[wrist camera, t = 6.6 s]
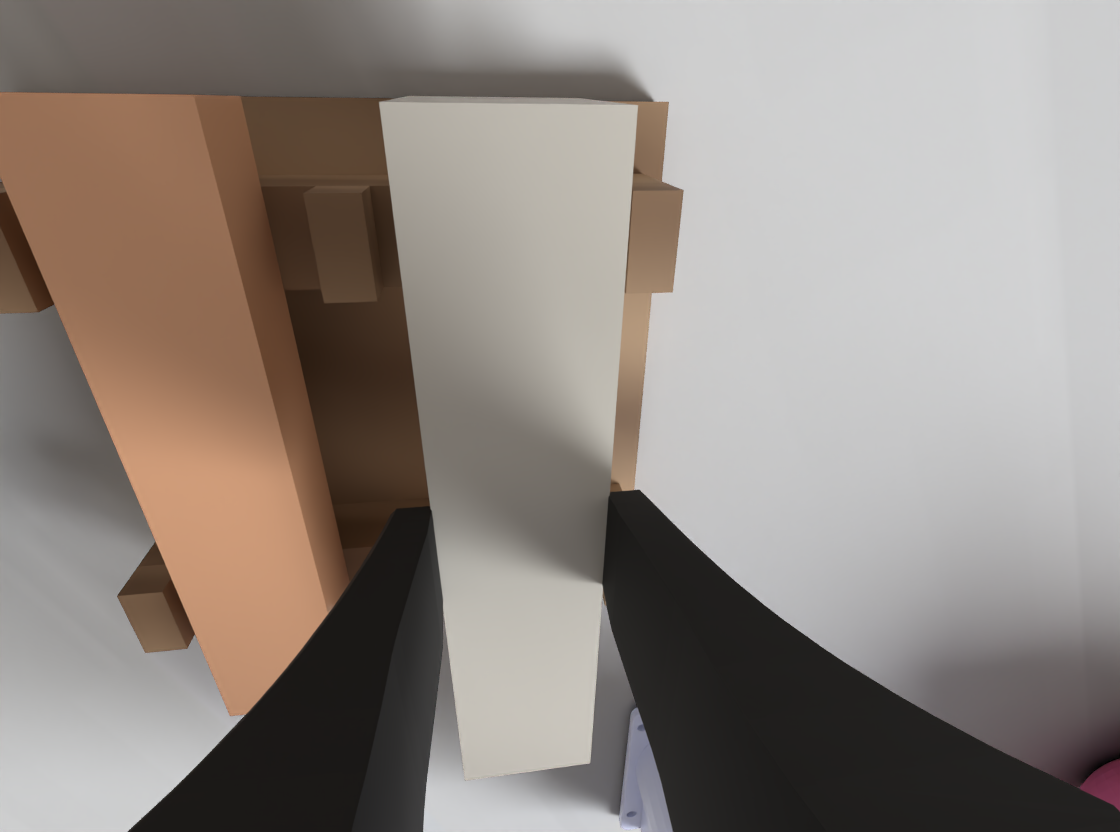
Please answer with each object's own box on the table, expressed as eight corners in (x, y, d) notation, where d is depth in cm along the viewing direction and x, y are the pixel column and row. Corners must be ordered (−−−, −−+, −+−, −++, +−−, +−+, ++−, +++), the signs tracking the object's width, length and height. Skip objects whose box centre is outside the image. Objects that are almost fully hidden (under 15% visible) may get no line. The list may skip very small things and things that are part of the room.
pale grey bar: (565, 628, 17) (590, 763, 14) (465, 639, 17) (464, 780, 13) (580, 97, 10) (637, 105, 7) (409, 95, 10) (378, 102, 6)
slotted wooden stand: (620, 545, 21) (651, 636, 17) (204, 583, 19) (144, 693, 15) (656, 101, 14) (719, 102, 10) (11, 93, 12) (-174, 90, 9)
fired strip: (362, 640, 17) (350, 701, 15) (254, 651, 16) (230, 716, 15) (239, 95, 10) (193, 94, 8) (53, 93, 10) (-37, 91, 8)
